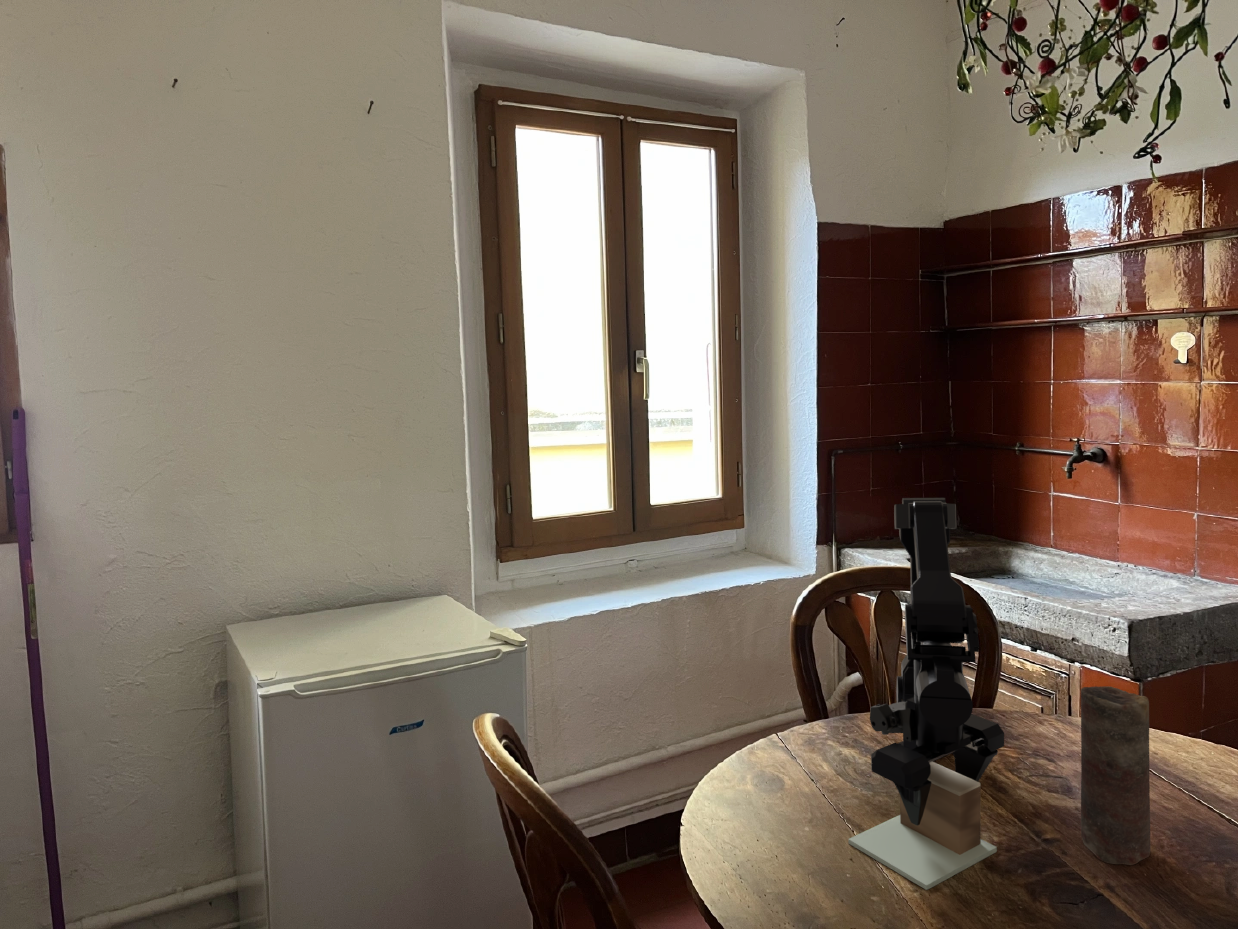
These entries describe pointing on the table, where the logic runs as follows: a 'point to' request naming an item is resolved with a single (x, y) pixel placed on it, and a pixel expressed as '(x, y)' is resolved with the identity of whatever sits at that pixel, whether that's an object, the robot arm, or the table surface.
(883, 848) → the sage mat
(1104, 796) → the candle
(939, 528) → the robot arm
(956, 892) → the table surface
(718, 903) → the table surface
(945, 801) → the walnut slab
